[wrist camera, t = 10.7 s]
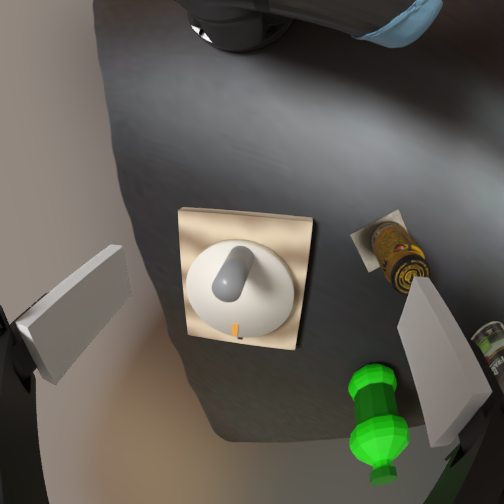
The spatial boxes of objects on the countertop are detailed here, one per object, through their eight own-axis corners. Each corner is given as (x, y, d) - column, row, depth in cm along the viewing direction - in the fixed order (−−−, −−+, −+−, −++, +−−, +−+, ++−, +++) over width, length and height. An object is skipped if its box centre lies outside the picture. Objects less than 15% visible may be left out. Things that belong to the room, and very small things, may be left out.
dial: (190, 319, 52) (168, 360, 42) (190, 230, 45) (159, 262, 35) (285, 337, 50) (278, 384, 40) (303, 248, 43) (301, 287, 33)
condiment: (413, 248, 42) (441, 286, 32) (368, 271, 45) (383, 315, 35) (397, 208, 40) (426, 238, 30) (349, 234, 43) (362, 270, 33)
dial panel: (182, 207, 46) (177, 211, 44) (312, 217, 43) (312, 222, 41) (191, 328, 56) (187, 335, 54) (295, 342, 53) (294, 351, 51)
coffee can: (458, 354, 49) (480, 403, 36) (484, 316, 45) (514, 362, 32) (486, 359, 49) (508, 403, 36) (511, 324, 44) (539, 366, 31)
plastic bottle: (365, 347, 52) (381, 464, 29) (404, 363, 52) (428, 469, 29) (336, 379, 56) (337, 487, 33) (374, 392, 56) (385, 492, 34)
